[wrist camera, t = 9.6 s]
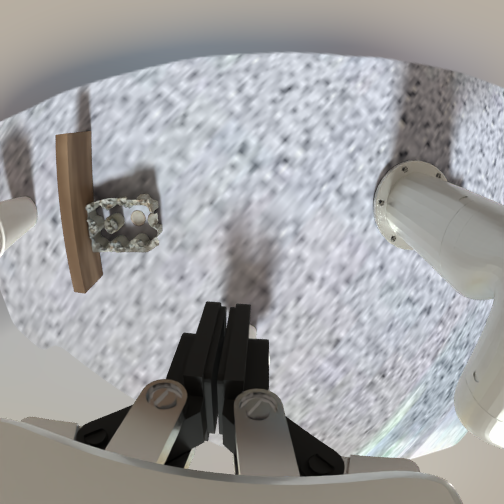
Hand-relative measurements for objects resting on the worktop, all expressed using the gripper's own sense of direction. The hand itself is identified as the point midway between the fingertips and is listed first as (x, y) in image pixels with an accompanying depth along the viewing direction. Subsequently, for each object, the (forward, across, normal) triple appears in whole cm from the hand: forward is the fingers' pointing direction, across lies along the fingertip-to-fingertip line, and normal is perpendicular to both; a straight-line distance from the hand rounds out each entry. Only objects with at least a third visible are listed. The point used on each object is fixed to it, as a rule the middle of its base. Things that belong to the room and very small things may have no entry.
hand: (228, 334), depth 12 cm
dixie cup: (+29, +38, +4) cm, 48 cm away
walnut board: (+29, +24, +3) cm, 38 cm away
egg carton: (+30, +18, +5) cm, 35 cm away
